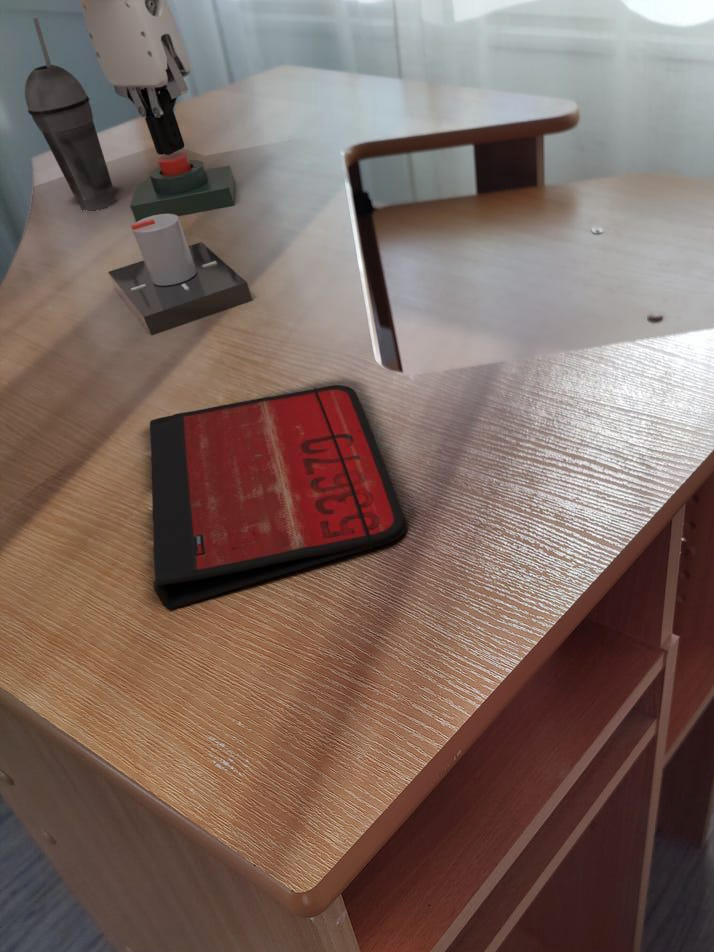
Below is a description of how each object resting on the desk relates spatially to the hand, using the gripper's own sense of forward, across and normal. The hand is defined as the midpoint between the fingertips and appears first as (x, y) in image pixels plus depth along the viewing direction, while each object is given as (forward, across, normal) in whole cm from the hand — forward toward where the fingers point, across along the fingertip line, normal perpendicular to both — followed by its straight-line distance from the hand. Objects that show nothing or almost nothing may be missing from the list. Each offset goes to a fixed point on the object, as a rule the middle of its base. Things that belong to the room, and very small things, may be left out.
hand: (171, 150), depth 105 cm
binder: (+6, -51, +46) cm, 69 cm away
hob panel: (+6, -22, +24) cm, 33 cm away
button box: (+6, 0, 0) cm, 6 cm away
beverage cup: (+6, +13, +3) cm, 15 cm away
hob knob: (+3, -22, +24) cm, 33 cm away
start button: (+2, 0, 0) cm, 2 cm away
